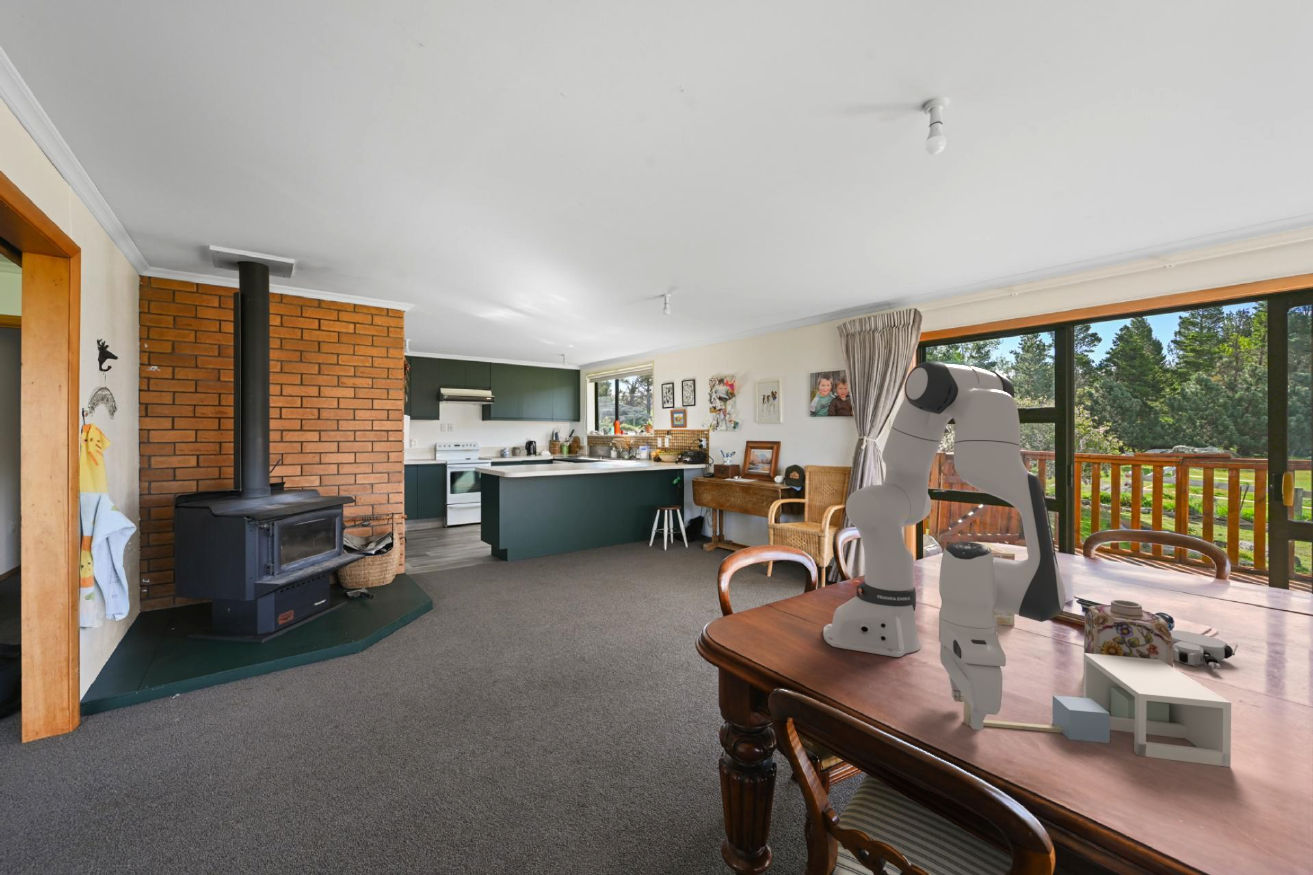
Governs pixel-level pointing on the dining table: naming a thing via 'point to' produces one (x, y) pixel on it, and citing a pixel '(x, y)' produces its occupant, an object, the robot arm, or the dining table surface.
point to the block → (1126, 706)
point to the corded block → (1065, 720)
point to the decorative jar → (1127, 632)
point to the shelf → (1189, 708)
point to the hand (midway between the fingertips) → (966, 713)
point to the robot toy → (1199, 649)
